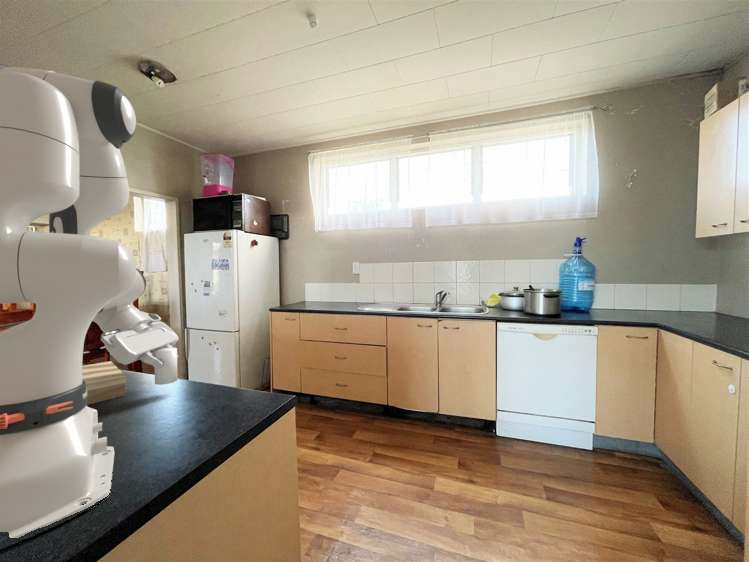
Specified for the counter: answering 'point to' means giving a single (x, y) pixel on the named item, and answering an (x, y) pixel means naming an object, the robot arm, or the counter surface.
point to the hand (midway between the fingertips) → (168, 362)
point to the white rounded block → (166, 366)
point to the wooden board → (103, 382)
